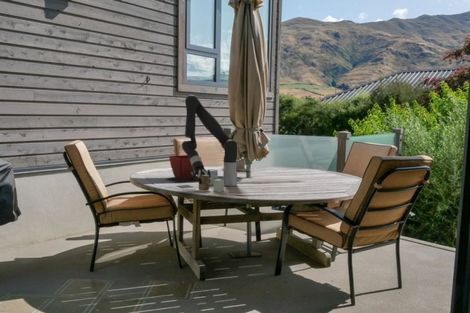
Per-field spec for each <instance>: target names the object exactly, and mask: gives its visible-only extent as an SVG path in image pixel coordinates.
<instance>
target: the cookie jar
mask: <svg viewBox="0 0 470 313" xmlns="http://www.w3.org/2000/svg"><path fill="white" fill-rule="evenodd" d="M246 166H247V165H246V162H245V163H244V159H241V160H239V161H236V171H243V172H247V171H246ZM221 169H222V171H223V170H224V164H222V166H221Z"/></svg>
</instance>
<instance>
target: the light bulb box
mask: <svg viewBox="0 0 470 313" xmlns="http://www.w3.org/2000/svg"><path fill="white" fill-rule="evenodd" d="M208 170H210V174H211V177H210V178H209V179H210V183H209V186H211V185H213V186H214V180H215V179H218V174H219V173H218V172H219V171H218V169H215V168H210V169H208Z"/></svg>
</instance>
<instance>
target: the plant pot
mask: <svg viewBox="0 0 470 313" xmlns="http://www.w3.org/2000/svg"><path fill="white" fill-rule="evenodd" d="M199 157H200V156H199ZM168 158H169V163H170V168H171V170H172V173H173V176H174V178H176V179H180V180H186V179H194V178H193V176H192V174H191V172H192V171H194V170H193V167H192V165H191V162H190V159H189V156H188V155H187V154H185V155H184V154H181V155H170V156H169V157H168ZM200 159H201V160H202V157H200ZM196 176H197V174H196Z"/></svg>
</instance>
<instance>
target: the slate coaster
mask: <svg viewBox="0 0 470 313" xmlns="http://www.w3.org/2000/svg"><path fill="white" fill-rule="evenodd" d="M176 187H177V188H181V189H188V188H194V186H192V185H189V184H184V185H183V184H181V185H176Z"/></svg>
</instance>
